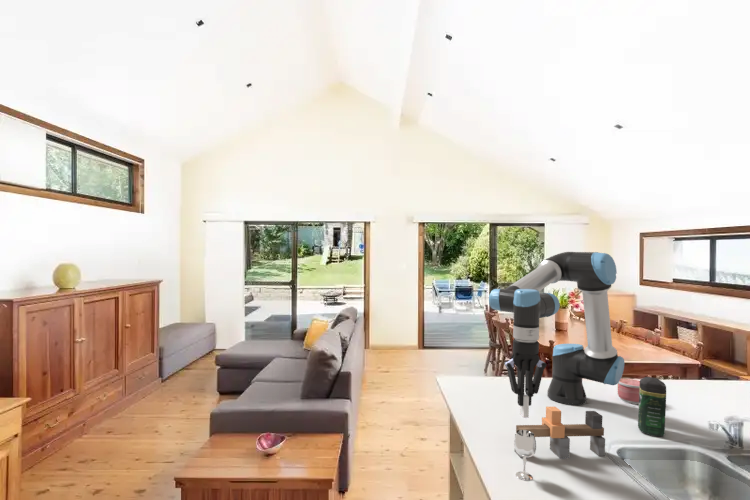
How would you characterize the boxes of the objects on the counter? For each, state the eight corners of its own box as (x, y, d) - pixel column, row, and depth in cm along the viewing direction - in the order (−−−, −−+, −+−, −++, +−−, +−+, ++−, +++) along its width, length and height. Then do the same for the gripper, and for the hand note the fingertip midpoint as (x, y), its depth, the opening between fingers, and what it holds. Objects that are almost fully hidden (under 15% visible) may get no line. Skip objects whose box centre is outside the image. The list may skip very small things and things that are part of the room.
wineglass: (509, 470, 120) (511, 428, 120) (529, 470, 120) (530, 428, 120) (518, 482, 114) (519, 438, 114) (538, 481, 114) (540, 437, 114)
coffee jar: (666, 439, 142) (668, 384, 142) (639, 434, 146) (640, 380, 146) (662, 428, 151) (664, 377, 151) (636, 423, 155) (638, 373, 155)
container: (629, 395, 185) (629, 377, 185) (651, 404, 176) (651, 385, 175) (610, 397, 182) (611, 379, 182) (632, 406, 172) (633, 387, 172)
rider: (541, 429, 133) (542, 404, 133) (553, 428, 134) (554, 404, 134) (552, 438, 127) (552, 413, 127) (564, 438, 127) (565, 412, 127)
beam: (513, 449, 132) (514, 410, 132) (594, 448, 135) (595, 409, 135) (521, 459, 126) (523, 418, 126) (606, 457, 129) (607, 417, 129)
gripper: (510, 342, 125) (508, 421, 125) (552, 342, 126) (550, 420, 126) (500, 337, 132) (499, 411, 133) (540, 336, 133) (538, 410, 134)
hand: (524, 415), depth 130 cm, fingers closed
